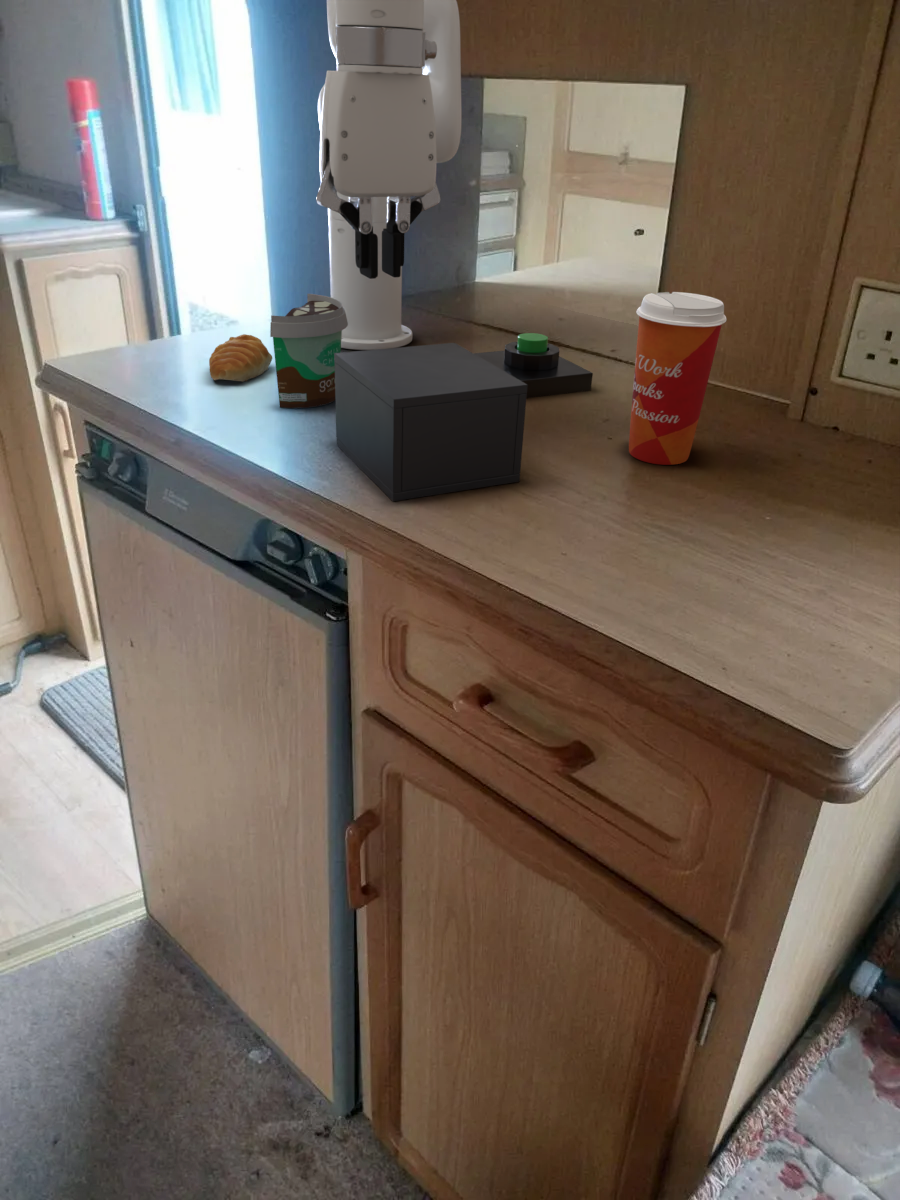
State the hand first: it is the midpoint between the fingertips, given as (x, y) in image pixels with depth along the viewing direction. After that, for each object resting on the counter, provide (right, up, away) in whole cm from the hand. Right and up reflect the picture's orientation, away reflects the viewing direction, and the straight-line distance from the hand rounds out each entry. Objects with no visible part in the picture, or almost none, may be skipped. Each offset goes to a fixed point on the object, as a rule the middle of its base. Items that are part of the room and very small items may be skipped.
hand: (379, 274), depth 88 cm
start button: (+17, -2, +21) cm, 27 cm away
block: (+17, -5, +23) cm, 29 cm away
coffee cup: (+28, -17, +3) cm, 33 cm away
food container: (-8, -9, +15) cm, 19 cm away
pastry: (-18, -4, +22) cm, 29 cm away
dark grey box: (+4, -18, -1) cm, 19 cm away
